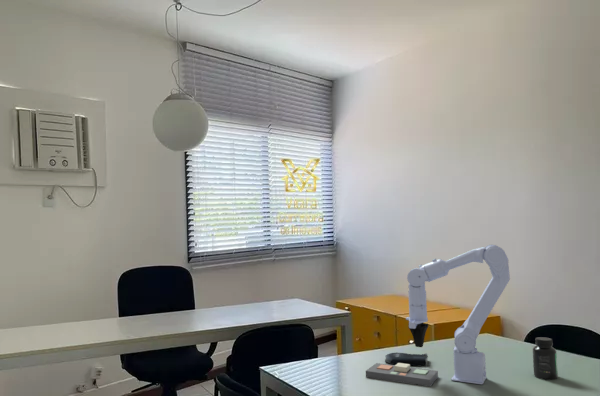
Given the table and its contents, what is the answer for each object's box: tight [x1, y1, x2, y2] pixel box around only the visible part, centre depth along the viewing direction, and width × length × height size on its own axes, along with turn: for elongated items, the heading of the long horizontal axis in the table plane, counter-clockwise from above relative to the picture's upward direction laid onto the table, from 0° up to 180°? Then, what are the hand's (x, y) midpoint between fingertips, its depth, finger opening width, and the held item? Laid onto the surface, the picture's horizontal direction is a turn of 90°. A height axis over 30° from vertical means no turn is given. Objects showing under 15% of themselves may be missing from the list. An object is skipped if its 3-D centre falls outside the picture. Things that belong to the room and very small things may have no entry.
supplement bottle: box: [532, 336, 559, 381], centre depth 153 cm, size 7×7×12 cm
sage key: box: [413, 368, 429, 375], centre depth 153 cm, size 4×4×2 cm
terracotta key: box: [377, 363, 393, 370], centre depth 159 cm, size 4×4×2 cm
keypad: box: [365, 362, 439, 387], centre depth 155 cm, size 21×10×2 cm, turn 60°
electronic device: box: [384, 352, 429, 367], centre depth 172 cm, size 9×6×15 cm
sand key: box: [394, 363, 411, 373], centre depth 156 cm, size 4×4×2 cm
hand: (419, 346), depth 157 cm, fingers closed
